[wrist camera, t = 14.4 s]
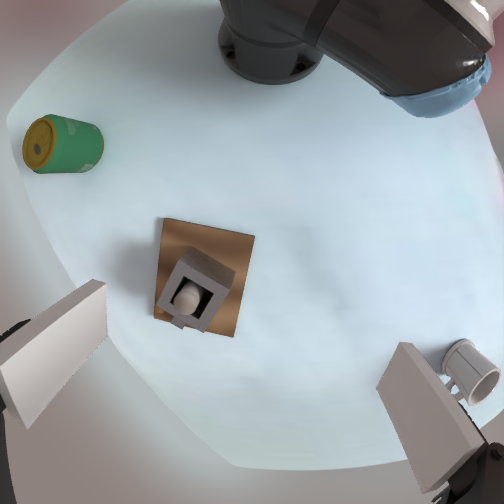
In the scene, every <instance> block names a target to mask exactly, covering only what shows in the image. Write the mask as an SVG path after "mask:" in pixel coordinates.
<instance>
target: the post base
mask: <svg viewBox="0 0 504 504" xmlns="http://www.w3.org/2000/svg"><path fill="white" fill-rule="evenodd" d="M254 239H255V236H253V235H248V234H243V233H239V232H234V231H229V230H224V229H219V228H215V227H210V226H205V225H200V224H195V223H190V222H185V221H180V220H175V219H170V218H164V222H163V230H162V237H161V245H160V254H159V263H158V272H157V283H156V295H155V306H154V318H156V319H159V320H163V321H167V322H170V323H171V321H172V319H173V317H174V316H173V315H171V314H170V313H168V312H166V311H165V310H163V309H161V308H160V307H158V306H156V304H157V302H158V300H159V298H160V296H161V294H162V292H163V290H164V288H165V286H166V284H167V281H168V279H169V278H170V276H171V274H172V272H173V270H174V268H175V266H176V264H177V262H178V260H179V259H180V258H181V257H182V256H183V255H184V254H185V253H186V252H187V251H188V250H189V249H191V248H192V247H195V248H196V249H198V250H200V251H201V252H203V253H205V254H207V255H208V256H210V257H212V258H213V259H215V260H217V261H218V262H220V263H222V264H224V265H225V266H227V267H229V268H230V269H232V270H234V271H236V273H235V276H234V280H233V283H232V286H231V290H230V291H229V293H228V295H227V296H226V298H225V300H224V301H223V303H222V304H221V306H220V308H219V309H218V311H217V312H216V314H215V316H214V317H213V319H212V320H211V322H210V324H209V325H208V327H207V329H206V330H205V331H207V332H211V333H215V334H220V335H224V336H229V337H234V332H235V328H236V323H237V318H238V314H239V309H240V304H241V300H242V295H243V290H244V286H245V281H246V276H247V272H248V267H249V262H250V258H251V253H252V248H253V244H254ZM184 283H185V285H184V286H183V288H182V289H181V291H180V292H179V293H178V295H177V296H176V297H175V299H174V307H175V309H176V310H177V311H178V312H179V313H181V314H183V315H190V314H192V313H193V312H194V311H195V310H196V308H197V306H198V304H199V302H200V300H201V298H202V296H203V295H205V296H207V297H210V295H211V293H212V292H211V291H209V290H207V289H205V288H204V287H202V286H200V285H199V284H197V283H195V282H193V281H192V280H190V279H188V278H187V279H186V281H185V282H184ZM185 326H186V327H190V328H194V327H192V326H190V325H188V324H187V323H186V324H185ZM194 329H195V328H194Z"/></svg>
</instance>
